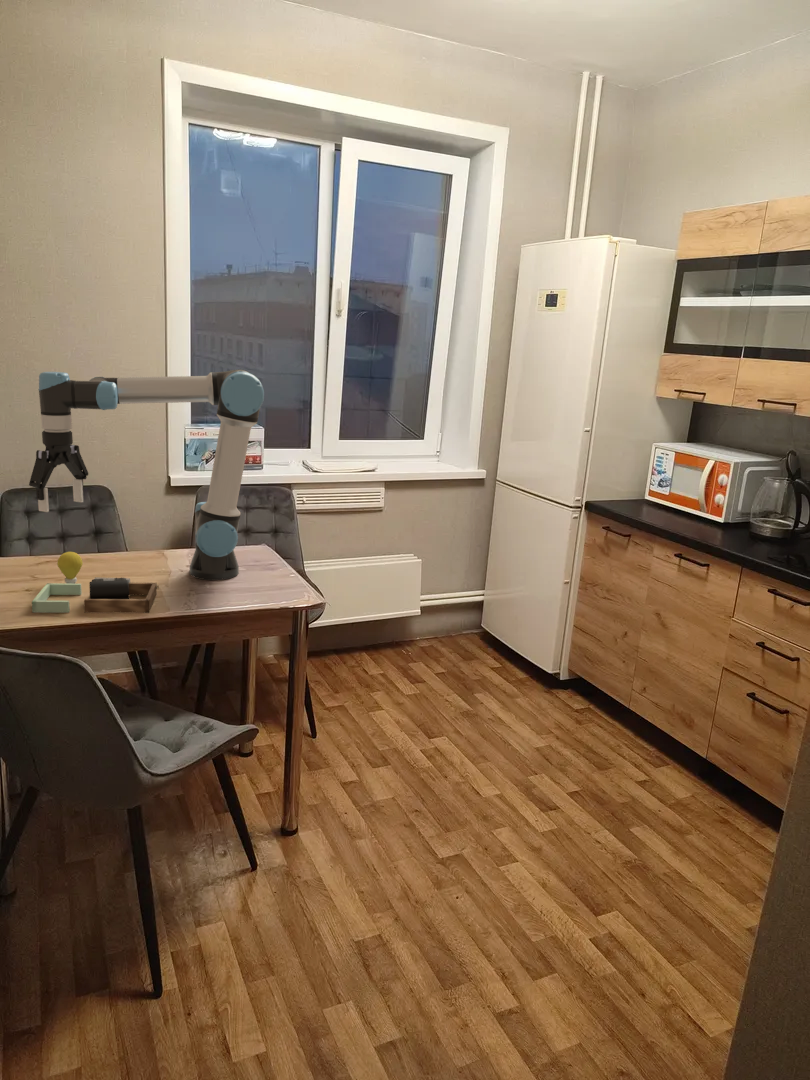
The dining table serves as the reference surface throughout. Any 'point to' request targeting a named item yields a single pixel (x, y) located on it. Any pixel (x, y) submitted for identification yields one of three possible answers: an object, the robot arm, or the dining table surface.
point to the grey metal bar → (109, 579)
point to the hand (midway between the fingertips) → (61, 506)
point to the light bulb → (70, 566)
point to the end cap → (109, 589)
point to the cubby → (125, 601)
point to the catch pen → (46, 605)
